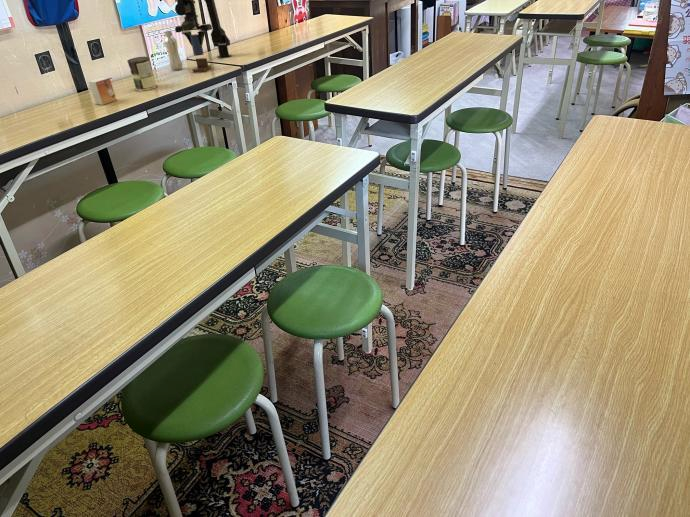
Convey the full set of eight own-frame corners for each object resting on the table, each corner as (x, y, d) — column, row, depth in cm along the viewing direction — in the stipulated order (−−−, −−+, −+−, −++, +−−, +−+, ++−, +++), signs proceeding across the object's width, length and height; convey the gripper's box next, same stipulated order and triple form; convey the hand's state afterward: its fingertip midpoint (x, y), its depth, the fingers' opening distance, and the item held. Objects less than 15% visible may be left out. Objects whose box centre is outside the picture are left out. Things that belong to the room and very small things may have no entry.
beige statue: (170, 69, 292) (160, 31, 281) (182, 67, 295) (173, 29, 284) (172, 71, 287) (162, 33, 276) (184, 69, 290) (175, 31, 279)
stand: (199, 68, 289) (197, 57, 285) (211, 68, 287) (208, 57, 284) (193, 72, 282) (190, 61, 278) (205, 72, 280) (202, 60, 277)
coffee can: (133, 91, 257) (124, 62, 249) (138, 86, 266) (130, 57, 258) (154, 89, 258) (146, 60, 250) (158, 84, 266) (150, 55, 258)
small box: (102, 105, 241) (95, 82, 235) (95, 104, 244) (87, 81, 238) (117, 100, 246) (109, 77, 241) (109, 99, 249) (102, 76, 243)
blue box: (198, 43, 284) (189, 29, 274) (207, 42, 283) (198, 29, 273) (195, 59, 282) (186, 47, 272) (204, 59, 281) (195, 46, 270)
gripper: (166, 16, 265) (174, 48, 273) (200, 14, 261) (206, 47, 269) (177, 14, 274) (183, 45, 282) (209, 12, 270) (215, 43, 278)
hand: (196, 45), depth 278 cm, fingers closed on blue box, 5 cm apart
